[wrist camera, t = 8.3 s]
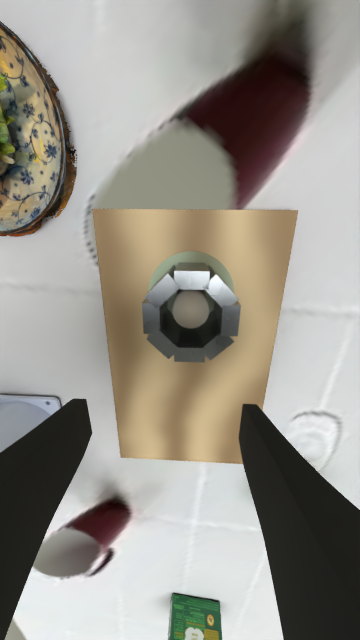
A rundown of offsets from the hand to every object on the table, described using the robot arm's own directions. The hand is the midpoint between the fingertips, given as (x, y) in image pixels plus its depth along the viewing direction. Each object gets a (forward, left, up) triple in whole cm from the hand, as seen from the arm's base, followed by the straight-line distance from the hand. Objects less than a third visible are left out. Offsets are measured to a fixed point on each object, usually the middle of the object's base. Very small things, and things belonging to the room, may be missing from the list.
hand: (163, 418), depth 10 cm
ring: (+1, +3, -9) cm, 9 cm away
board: (+1, -2, -10) cm, 10 cm away
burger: (-13, +14, -10) cm, 21 cm away
